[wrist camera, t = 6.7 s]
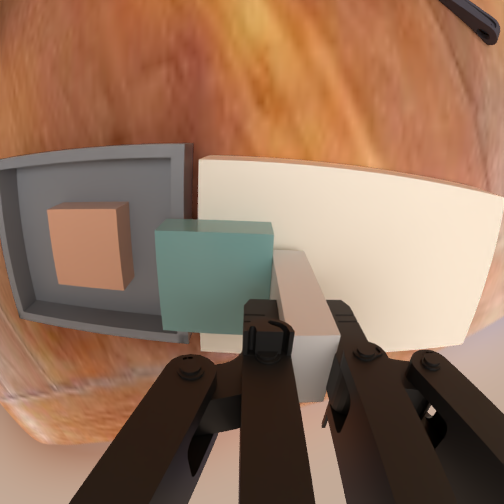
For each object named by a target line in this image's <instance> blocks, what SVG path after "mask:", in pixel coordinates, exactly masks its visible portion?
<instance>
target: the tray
mask: <svg viewBox="0 0 504 504" xmlns="http://www.w3.org/2000/svg"><path fill="white" fill-rule="evenodd" d="M192 180H193V143H154V144H129V145H112V146H98V147H86V148H75V149H66V150H57V151H49V152H41V153H34V154H27V155H21V156H14V157H9V158H4V159H0V239H1V244H2V250H3V255H4V259H5V264H6V269H7V273H8V277H9V281H10V285H11V289H12V293H13V296H14V300H15V303H16V307H17V310H18V313H19V317H20V318H21V319H25V320H30V321H34V322H39V323H44V324H49V325H54V326H59V327H65V328H70V329H76V330H82V331H88V332H94V333H101V334H107V335H114V336H121V337H129V338H137V339H145V340H154V341H164V342H174V343H185V344H189V341H190V338H191V334H192V332H181V331H169V330H163V325H162V316H161V307H160V297H159V287H158V275H157V262H156V248H155V229H156V228H157V227H158V226H159V225H160V224H161V223H162V222H163V221H164V220H165V219H192ZM63 202H129V215H130V231H131V245H132V256H133V267H134V276H135V277H134V278H133V279H132V281H131V282H130V283H129V285H128V286H127V287H126V289H125V290H124V291H122V290H111V289H101V288H91V287H81V286H72V285H63V284H59V283H58V278H57V273H56V268H55V263H54V257H53V251H52V245H51V238H50V231H49V223H48V214H47V209H49V208H52V207H54V206H56V205H58V204H61V203H63Z"/></svg>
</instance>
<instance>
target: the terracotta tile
mask: <svg viewBox="0 0 504 504" xmlns="http://www.w3.org/2000/svg"><path fill="white" fill-rule="evenodd" d="M47 214H48V223H49V231H50V238H51V245H52V251H53V257H54V263H55V268H56V273H57V278H58V283H59V284H63V285H72V286H81V287H91V288H101V289H111V290H122V291H124V290H125V289H126V287H127V286H128V285H129V283H130V282H131V281H132V279H133V278H134V277H135V276H134V267H133V256H132V245H131V231H130V215H129V202H63V203H61V204H58V205H56V206H54V207H52V208H49V209H47Z"/></svg>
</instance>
